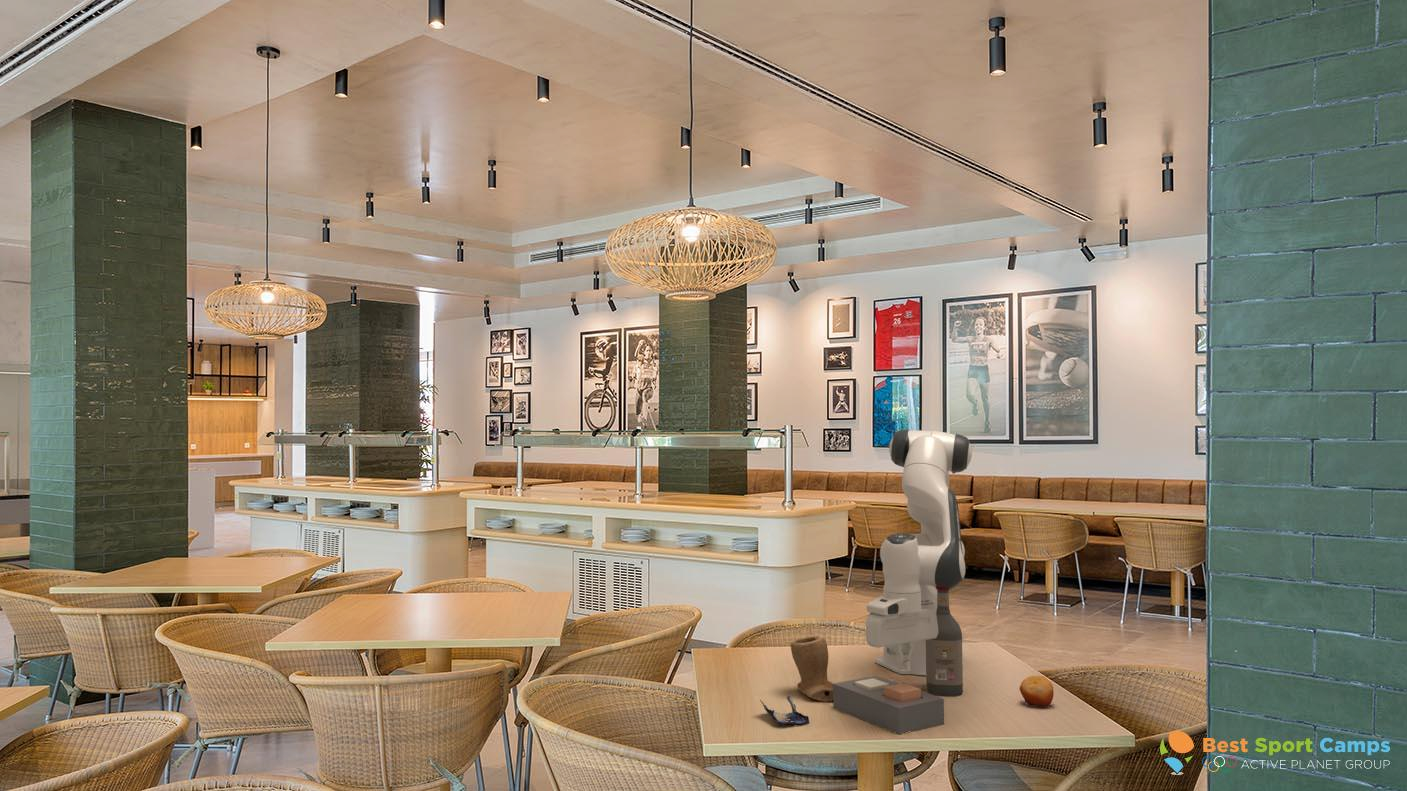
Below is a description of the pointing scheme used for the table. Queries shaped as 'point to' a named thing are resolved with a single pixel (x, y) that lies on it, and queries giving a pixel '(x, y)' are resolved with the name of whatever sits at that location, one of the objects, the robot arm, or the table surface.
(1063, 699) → the table surface
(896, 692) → the terracotta key
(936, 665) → the liquor
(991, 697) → the table surface
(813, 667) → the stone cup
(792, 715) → the dark blue forked piece
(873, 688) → the off-white key
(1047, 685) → the fruit
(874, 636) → the robot arm
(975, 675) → the table surface
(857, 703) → the key panel
